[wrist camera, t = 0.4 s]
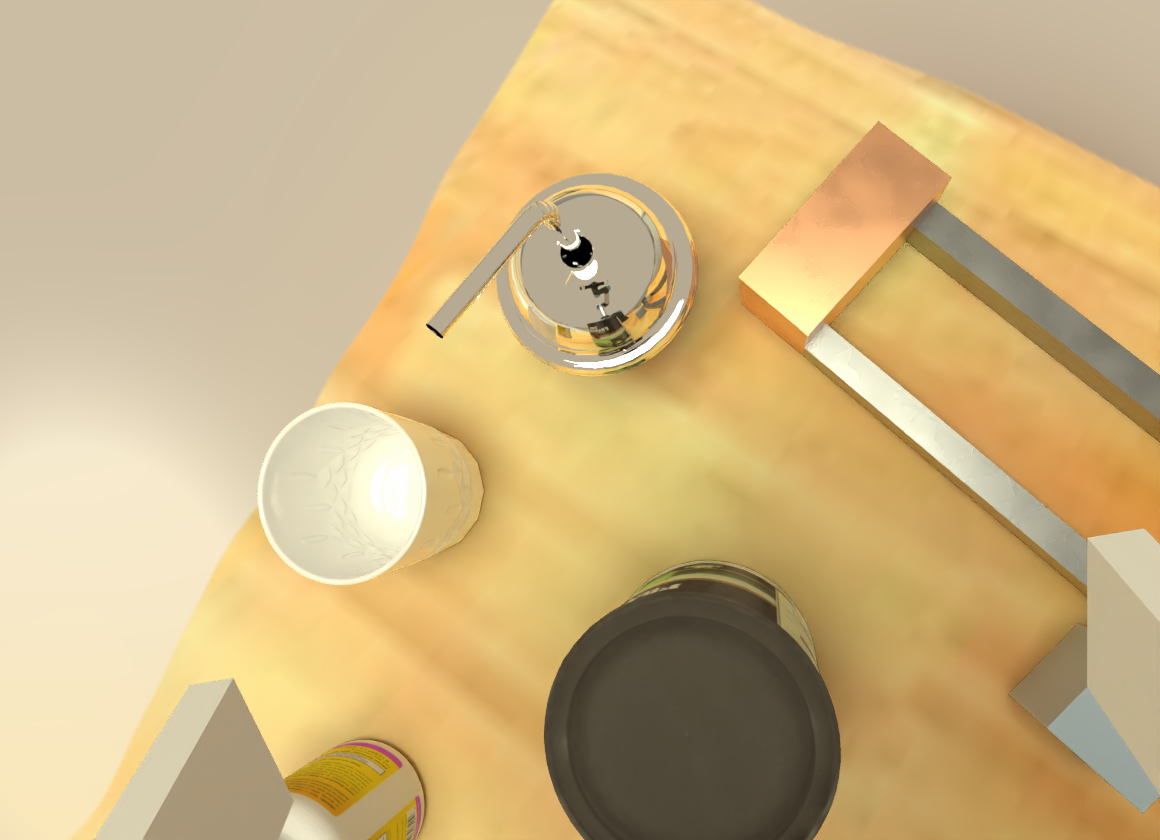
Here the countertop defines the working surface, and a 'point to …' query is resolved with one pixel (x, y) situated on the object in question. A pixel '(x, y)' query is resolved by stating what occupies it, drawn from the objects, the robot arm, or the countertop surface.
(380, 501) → the white cup
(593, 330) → the cup with straw
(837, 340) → the channel
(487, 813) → the countertop surface
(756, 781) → the coffee can
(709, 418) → the countertop surface
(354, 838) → the supplement bottle
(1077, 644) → the block
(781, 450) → the countertop surface
